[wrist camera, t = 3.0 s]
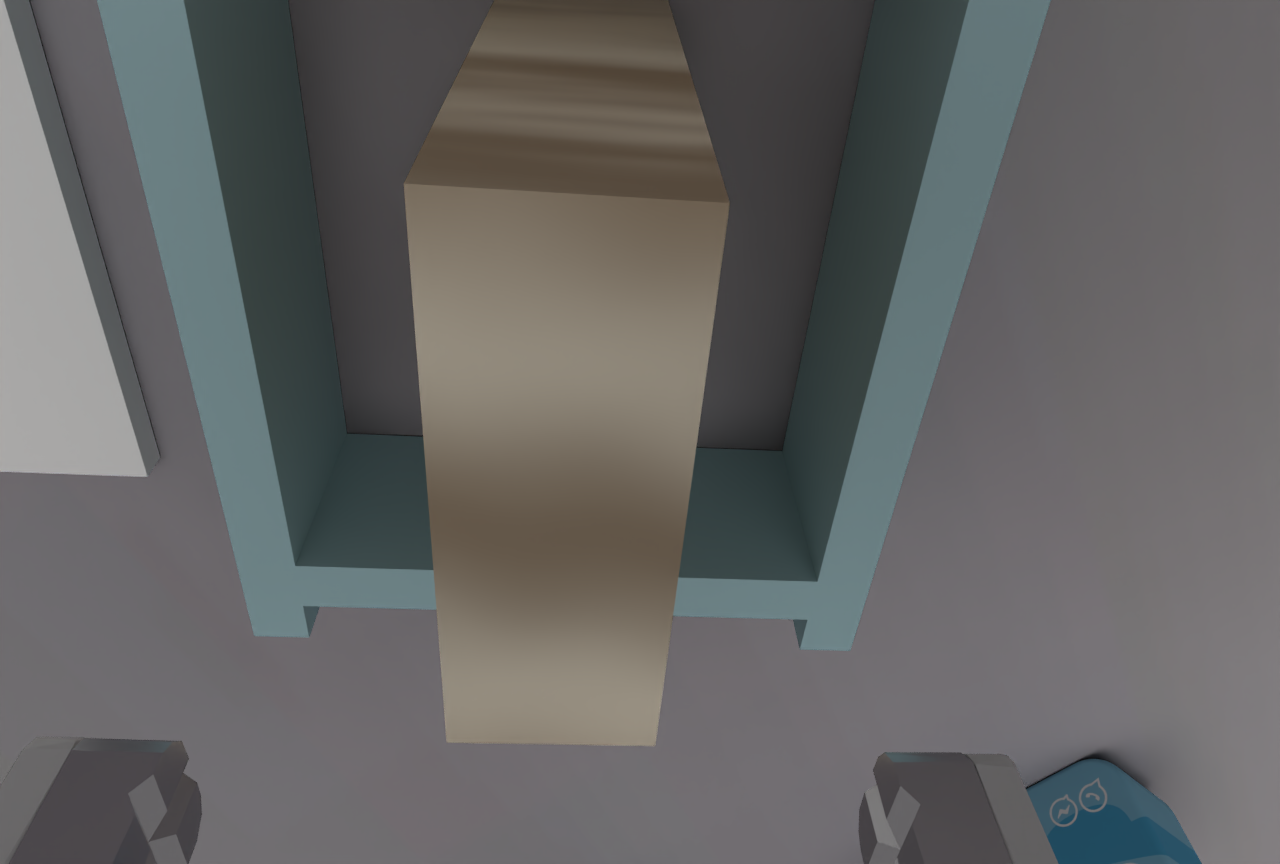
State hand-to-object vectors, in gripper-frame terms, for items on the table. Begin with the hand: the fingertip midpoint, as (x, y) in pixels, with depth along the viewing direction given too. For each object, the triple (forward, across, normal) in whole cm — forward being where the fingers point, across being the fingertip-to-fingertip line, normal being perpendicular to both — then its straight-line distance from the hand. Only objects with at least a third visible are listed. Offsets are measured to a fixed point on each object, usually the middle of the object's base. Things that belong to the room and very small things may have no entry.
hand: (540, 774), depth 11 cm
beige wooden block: (+17, 0, 0) cm, 17 cm away
